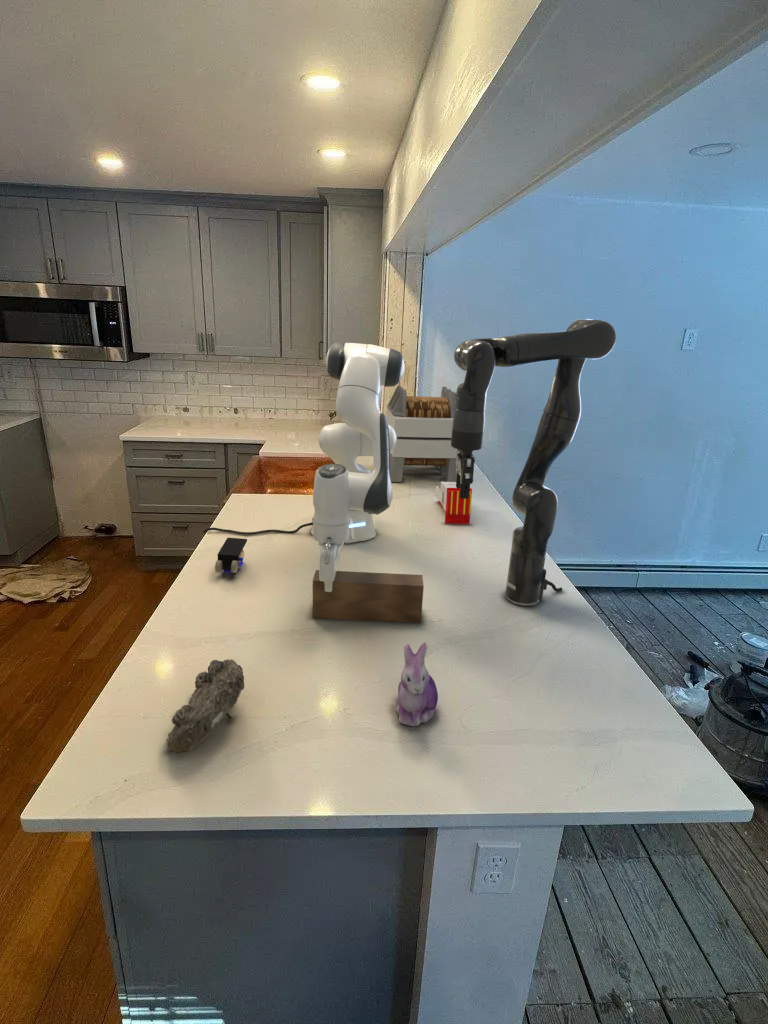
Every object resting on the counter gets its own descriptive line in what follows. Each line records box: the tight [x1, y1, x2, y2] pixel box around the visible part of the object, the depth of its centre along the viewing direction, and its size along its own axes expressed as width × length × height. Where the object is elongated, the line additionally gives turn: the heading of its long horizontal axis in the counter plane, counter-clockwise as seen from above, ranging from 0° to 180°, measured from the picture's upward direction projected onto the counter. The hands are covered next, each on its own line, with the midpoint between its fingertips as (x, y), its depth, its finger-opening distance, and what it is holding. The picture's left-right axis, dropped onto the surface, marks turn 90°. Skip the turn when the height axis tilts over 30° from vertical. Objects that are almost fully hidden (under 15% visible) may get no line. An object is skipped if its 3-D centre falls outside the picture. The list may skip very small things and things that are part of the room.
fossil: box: [166, 658, 245, 754], centre depth 106 cm, size 22×10×15 cm
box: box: [312, 569, 425, 624], centre depth 145 cm, size 28×6×10 cm, turn 89°
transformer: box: [385, 384, 458, 483], centre depth 268 cm, size 34×33×41 cm
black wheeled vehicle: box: [214, 537, 248, 578], centre depth 166 cm, size 7×8×15 cm
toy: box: [434, 481, 473, 525], centre depth 222 cm, size 12×13×30 cm
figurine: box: [395, 642, 439, 727], centre depth 109 cm, size 9×10×15 cm
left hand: (330, 582), depth 143 cm, fingers open, 8 cm apart
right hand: (462, 492), depth 140 cm, fingers open, 8 cm apart
